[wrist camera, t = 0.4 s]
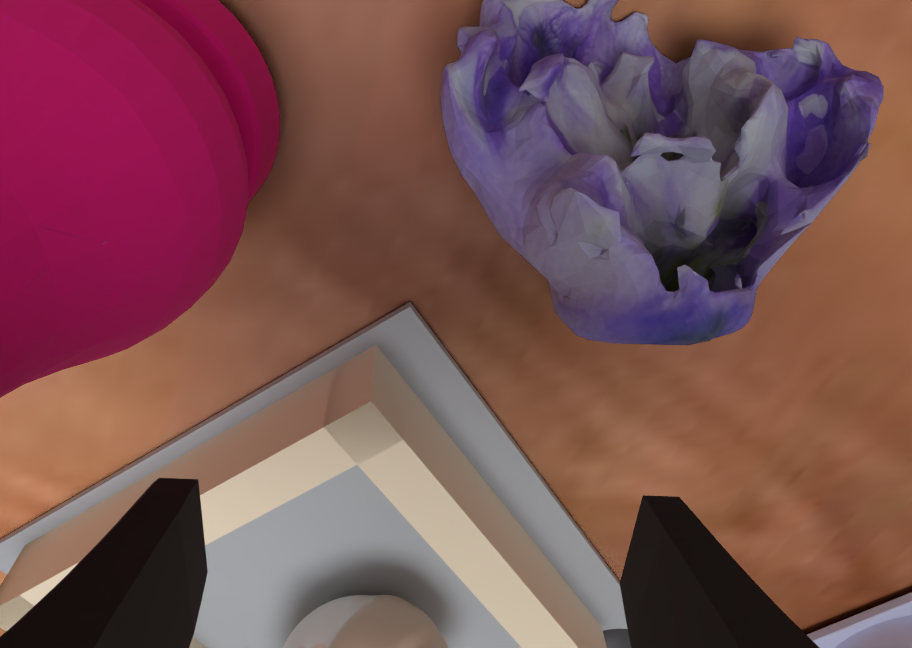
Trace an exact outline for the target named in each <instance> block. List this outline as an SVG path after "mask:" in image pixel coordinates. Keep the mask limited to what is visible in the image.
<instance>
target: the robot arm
mask: <svg viewBox="0 0 912 648" xmlns="http://www.w3.org/2000/svg"><path fill="white" fill-rule="evenodd" d="M207 573H208V570H207V560H206V550H205V540H204V530H203V520H202V511H201V501H200V491H199V481H198V479H178V478H158V479H157V480H156V481H154V482H153V483H152V484H151V485H150V486H149V488H148V489H147V490H146V491H145V492H144V493H143V494H142V495H141V497H140V498H139V499H138V500H137V501H136V502H135V503H134V504H133V506H132V507H131V508H130V509H129V510H128V511H127V512H126V513H125V514H124V516H123V517H122V518H121V519H120V520H119V521H118V522H117V523H116V524H115V525H114V526H113V528H112V529H111V530H110V531H109V532H108V533H107V534H106V535H105V536H104V537H103V538H102V539H101V540H100V541H99V543H98V544H97V545H96V546H95V547H94V548H93V549H92V550H91V551H90V552H89V553H88V554H87V555H86V556H85V557H84V558H83V559H82V560H81V561H80V562H79V563H78V564H77V565H76V566H75V567H74V568H73V569H72V570H71V571H70V572H69V573H68V574H67V575H66V576H65V577H64V578H63V579H62V580H61V581H60V582H59V583H58V584H57V585H56V586H55V587H54V588H53V589H52V590H51V591H50V592H49V593H48V594H47V595H45V596H44V597H43V598H42V599H41V600H40V601H39V602H38V603H37V604H36V605H35V606H34V607H33V608H32V609H30V610H29V611H28V612H27V613H26V614H25V615H24V616H23V617H22V618H21V619H20V620H19V621H18V622H17V623H15V624H14V625H13V626H12V627H11V628H10V629H9V630H8V631H6V632H5V633H4V634H3V635H2V636H1V637H0V648H189V647H190V644H191V641H192V638H193V635H194V631H195V627H196V623H197V618H198V614H199V610H200V606H201V601H202V596H203V592H204V587H205V583H206V578H207ZM620 588H621V594H622V600H623V606H624V612H625V618H626V623H627V629H628V634H629V639H630V644H631V647H632V648H912V592H911V593H908V594H906V595H903V596H901V597H898V598H896V599H893V600H891V601H888V602H886V603H883V604H881V605H879V606H876V607H874V608H871V609H869V610H866V611H864V612H861V613H859V614H856V615H854V616H851V617H849V618H846V619H844V620H842V621H839V622H837V623H834V624H832V625H829V626H827V627H824V628H822V629H819V630H817V631H814V632H812V633H809V634H807V635H806V634H805V633H804V632H803V631H802V630H801V629H800V628H799V627H798V626H797V625H796V624H795V623H794V622H793V621H792V620H791V619H790V618H789V617H788V616H787V615H786V614H785V613H784V612H783V611H782V610H781V609H780V608H779V607H778V606H777V605H776V604H775V603H774V602H773V601H772V600H771V599H770V598H769V597H768V596H767V595H766V594H765V593H764V592H763V591H762V589H761V588H760V587H759V586H758V585H757V584H756V583H755V582H754V581H753V580H752V579H751V578H750V577H749V575H748V574H747V573H746V572H745V571H744V570H743V569H742V568H741V567H740V566H739V564H738V563H737V562H736V561H735V560H734V559H733V558H732V557H731V556H730V554H729V553H728V552H727V551H726V550H725V549H724V548H723V547H722V545H721V544H720V543H719V542H718V541H717V540H716V539H715V537H714V536H713V535H712V534H711V533H710V532H709V531H708V529H707V528H706V527H705V526H704V525H703V524H702V522H701V521H700V520H699V519H698V518H697V517H696V516H695V514H694V513H693V512H692V511H691V510H690V509H689V508H688V506H687V505H686V504H685V503H684V502H683V501H682V500H681V499H680V497H668V496H643V497H642V501H641V505H640V508H639V512H638V516H637V520H636V524H635V528H634V531H633V535H632V539H631V543H630V547H629V550H628V554H627V558H626V562H625V566H624V570H623V573H622V577H621V581H620Z"/></svg>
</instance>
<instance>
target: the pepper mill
mask: <svg viewBox="0 0 912 648" xmlns="http://www.w3.org/2000/svg"><path fill="white" fill-rule="evenodd" d="M279 135H280V116H279V107H278V100H277V96H276V92H275V88H274V84H273V80H272V78H271V75H270V73H269V70H268V67H267V65H266V63H265V61H264V59H263V57H262V55H261V53H260V51H259V49H258V47H257V46H256V44H255V43H254V41H253V40H252V38H251V37H250V35H249V34H248V32H247V31H246V30H245V28H244V27H243V26H242V25H241V23H240V22H239V21H238V20H237V19H236V17H235V16H234V15H233V14H232V13H231V12H230V11H229V10H228V9H227V8H226V7H225V6H224V5H223V4H222V3H220V2H219V1H218V0H0V397H2V396H4V395H6V394H7V393H9V392H11V391H13V390H15V389H16V388H18V387H20V386H22V385H23V384H26V383H28V382H31V381H34V380H36V379H39V378H42V377H44V376H47V375H50V374H52V373H55V372H57V371H60V370H63V369H66V368H70V367H73V366H76V365H80V364H83V363H87V362H90V361H93V360H97V359H100V358H103V357H107V356H109V355H112V354H115V353H117V352H120V351H122V350H125V349H128V348H129V347H131V346H133V345H135V344H137V343H138V342H140V341H142V340H144V339H146V338H148V337H149V336H151V335H153V334H155V333H157V332H158V331H160V330H162V329H164V328H165V327H166V326H168V325H169V324H170V323H171V322H173V321H174V320H175V319H177V318H178V317H179V316H180V315H182V314H183V313H184V312H185V311H187V310H188V309H189V308H191V306H192V305H193V304H194V303H195V302H196V301H197V300H198V299H199V298H200V297H201V296H202V295H203V294H204V293H205V292H206V291H207V290H208V289H209V288H210V287H211V286H212V285H213V284H214V283H215V281H216V280H217V279H218V277H219V276H220V274H221V273H222V272H223V270H224V269H225V268H226V266H227V265H228V263H229V262H230V260H231V258H232V255H233V253H234V251H235V248H236V246H237V244H238V242H239V239H240V237H241V234H242V232H243V227H244V222H245V216H246V211H247V206H248V203H249V202H250V200H251V199H252V198H253V197H254V196H255V194H256V193H257V192H258V191H259V189H260V188H261V186H262V185H263V183H264V182H265V180H266V179H267V177H268V175H269V173H270V171H271V168H272V166H273V163H274V160H275V157H276V153H277V148H278V142H279Z"/></svg>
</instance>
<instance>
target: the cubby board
mask: <svg viewBox="0 0 912 648" xmlns="http://www.w3.org/2000/svg"><path fill="white" fill-rule="evenodd" d="M158 478H178V479H198V481H199V491H200V501H201V511H202V520H203V530H204V540H205V550H206V560H207V570H208V573H207V578H206V583H205V587H204V592H203V596H202V601H201V606H200V610H199V614H198V618H197V623H196V627H195V631H194V635H193V638H192V641H191V644H190V647H189V648H283V645H284V644H285V642H286V640H287V638H288V637H289V635H290V634H291V632H292V631H293V630H294V628H295V627H296V626H297V625H298V624H299V623H300V622H301V621H302V620H303V619H304V618H305V617H306V616H307V615H308V614H310V613H311V612H312V611H314V610H315V609H317V608H318V607H320V606H322V605H324V604H326V603H328V602H330V601H332V600H335V599H338V598H342V597H346V596H353V595H393V596H397V597H400V598H402V599H404V600H406V601H407V602H409V603H411V604H413V605H414V606H416V607H417V608H419V609H420V610H422V611H423V612H424V613H425V614H426V615H427V616H428V617H429V618H430V619H431V620H432V621H433V623H434V624H435V626H436V627H437V629H438V631H439V632H440V633H441V635H442V636H443V638H444V640H445V641H446V643H447V645H448V648H632V647H631V644H630V639H629V634H628V629H627V623H626V618H625V612H624V606H623V600H622V594H621V588H620V581H619V580H618V579H617V577H616V576H615V575H614V573H613V572H612V571H611V569H610V568H609V567H608V565H607V564H606V563H605V561H604V560H603V559H602V557H601V556H600V555H599V553H598V552H597V551H596V549H595V548H594V547H593V545H592V544H591V543H590V541H589V540H588V539H587V537H586V536H585V535H584V533H583V532H582V531H581V529H580V528H579V527H578V525H577V524H576V523H575V521H574V520H573V519H572V517H571V516H570V515H569V513H568V512H567V511H566V509H565V508H564V507H563V505H562V504H561V503H560V501H559V500H558V499H557V497H556V496H555V495H554V493H553V492H552V491H551V489H550V488H549V487H548V485H547V484H546V482H545V481H544V480H543V478H542V477H541V476H540V474H539V473H538V472H537V470H536V469H535V468H534V466H533V465H532V464H531V462H530V461H529V460H528V458H527V457H526V456H525V454H524V453H523V452H522V450H521V449H520V448H519V446H518V445H517V444H516V442H515V441H514V440H513V438H512V437H511V436H510V434H509V433H508V432H507V430H506V429H505V428H504V426H503V425H502V424H501V422H500V421H499V420H498V418H497V417H496V416H495V414H494V413H493V412H492V410H491V409H490V408H489V406H488V405H487V404H486V402H485V401H484V400H483V398H482V397H481V396H480V394H479V393H478V392H477V390H476V389H475V388H474V386H473V385H472V384H471V382H470V381H469V380H468V378H467V377H466V376H465V374H464V373H463V372H462V370H461V369H460V368H459V366H458V365H457V364H456V362H455V361H454V360H453V358H452V357H451V356H450V354H449V353H448V352H447V350H446V349H445V348H444V346H443V345H442V344H441V342H440V341H439V340H438V338H437V337H436V336H435V334H434V333H433V332H432V330H431V329H430V328H429V326H428V325H427V324H426V322H425V321H424V320H423V318H422V317H421V316H420V314H419V313H418V312H417V310H416V309H415V308H414V306H413V305H412V304H411V302H409V303H407V304H405V305H403V306H402V307H400V308H398V309H396V310H395V311H393V312H391V313H390V314H388V315H386V316H384V317H383V318H381V319H379V320H378V321H376V322H374V323H372V324H371V325H369V326H367V327H365V328H364V329H362V330H360V331H359V332H357V333H355V334H353V335H352V336H350V337H348V338H346V339H345V340H343V341H341V342H340V343H338V344H336V345H334V346H333V347H331V348H329V349H327V350H326V351H324V352H322V353H321V354H319V355H317V356H315V357H314V358H312V359H310V360H309V361H307V362H305V363H303V364H302V365H300V366H298V367H296V368H295V369H293V370H291V371H290V372H288V373H286V374H284V375H283V376H281V377H279V378H277V379H276V380H274V381H272V382H271V383H269V384H267V385H265V386H264V387H262V388H260V389H258V390H257V391H255V392H253V393H252V394H250V395H248V396H246V397H245V398H243V399H241V400H240V401H238V402H236V403H234V404H233V405H231V406H229V407H227V408H226V409H224V410H222V411H221V412H219V413H217V414H215V415H214V416H212V417H210V418H208V419H207V420H205V421H203V422H202V423H200V424H198V425H196V426H195V427H193V428H191V429H189V430H188V431H186V432H184V433H183V434H181V435H179V436H177V437H176V438H174V439H172V440H171V441H169V442H167V443H165V444H164V445H162V446H160V447H158V448H157V449H155V450H153V451H152V452H150V453H148V454H146V455H145V456H143V457H141V458H139V459H138V460H136V461H134V462H133V463H131V464H129V465H127V466H126V467H124V468H122V469H120V470H119V471H117V472H115V473H114V474H112V475H110V476H108V477H107V478H105V479H103V480H102V481H100V482H98V483H96V484H95V485H93V486H91V487H89V488H88V489H86V490H84V491H83V492H81V493H79V494H77V495H76V496H74V497H72V498H70V499H69V500H67V501H65V502H64V503H62V504H60V505H58V506H57V507H55V508H53V509H51V510H50V511H48V512H46V513H45V514H43V515H41V516H39V517H38V518H36V519H34V520H33V521H31V522H29V523H27V524H26V525H24V526H22V527H20V528H19V529H17V530H15V531H14V532H12V533H10V534H8V535H7V536H5V537H3V538H1V539H0V570H1V571H2V572H3V573H5V574H6V575H7V576H6V578H5V579H4V581H3V583H2V584H1V586H0V627H1V628H2V629H3V630H5V631H8V630H9V629H10V628H11V627H12V626H13V625H14V624H15V623H17V622H18V621H19V620H20V619H21V618H22V617H23V616H24V615H25V614H26V613H27V612H28V611H29V610H30V609H32V608H33V607H34V606H35V605H36V604H37V603H38V602H39V601H40V600H41V599H42V598H43V597H44V596H45V595H47V594H48V593H49V592H50V591H51V590H52V589H53V588H54V587H55V586H56V585H57V584H58V583H59V582H60V581H61V580H62V579H63V578H64V577H65V576H66V575H67V574H68V573H69V572H70V571H71V570H72V569H73V568H74V567H75V566H76V565H77V564H78V563H79V562H80V561H81V560H82V559H83V558H84V557H85V556H86V555H87V554H88V553H89V552H90V551H91V550H92V549H93V548H94V547H95V546H96V545H97V544H98V543H99V541H100V540H101V539H102V538H103V537H104V536H105V535H106V534H107V533H108V532H109V531H110V530H111V529H112V528H113V526H114V525H115V524H116V523H117V522H118V521H119V520H120V519H121V518H122V517H123V516H124V514H125V513H126V512H127V511H128V510H129V509H130V508H131V507H132V506H133V504H134V503H135V502H136V501H137V500H138V499H139V498H140V497H141V495H142V494H143V493H144V492H145V491H146V490H147V489H148V488H149V486H150V485H151V484H152V483H153V482H154V481H156V480H157V479H158Z"/></svg>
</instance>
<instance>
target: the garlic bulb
mask: <svg viewBox="0 0 912 648" xmlns="http://www.w3.org/2000/svg"><path fill="white" fill-rule="evenodd" d="M283 648H448V645H447V643H446V641H445V640H444V638H443V636H442V635H441V633H440V632H439V631H438V629H437V627H436V626H435V624H434V623H433V621H432V620H431V619H430V618H429V617H428V616H427V615H426V614H425V613H424V612H423V611H422V610H420V609H419V608H417V607H416V606H414V605H413V604H411V603H409V602H407V601H406V600H404V599H402V598H400V597H397V596H393V595H353V596H346V597H342V598H338V599H335V600H332V601H330V602H328V603H326V604H324V605H322V606H320V607H318V608H317V609H315V610H314V611H312V612H311V613H310V614H308V615H307V616H306V617H305V618H304V619H303V620H302V621H301V622H300V623H299V624H298V625H297V626H296V627H295V628H294V630H293V631H292V632H291V634H290V635H289V637H288V638H287V640H286V642H285V644H284V645H283Z"/></svg>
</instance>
